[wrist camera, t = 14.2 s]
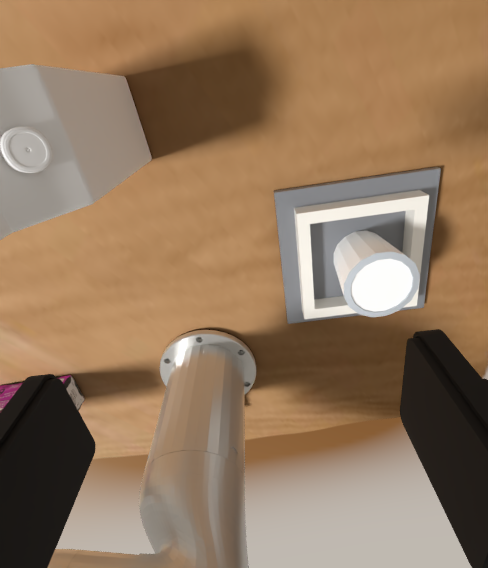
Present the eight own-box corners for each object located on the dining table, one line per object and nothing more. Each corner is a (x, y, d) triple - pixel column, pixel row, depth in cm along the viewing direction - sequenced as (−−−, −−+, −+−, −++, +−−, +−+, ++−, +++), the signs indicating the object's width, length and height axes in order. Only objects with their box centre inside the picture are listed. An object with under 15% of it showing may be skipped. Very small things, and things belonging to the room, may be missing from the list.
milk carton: (84, 175, 34) (-65, 254, 18) (50, 95, 31) (-174, 99, 14) (153, 159, 34) (64, 226, 17) (125, 75, 30) (-18, 56, 14)
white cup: (321, 236, 37) (336, 265, 30) (387, 216, 35) (417, 242, 29) (334, 289, 40) (350, 326, 34) (395, 272, 39) (423, 306, 33)
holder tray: (420, 303, 42) (431, 317, 39) (287, 320, 43) (289, 334, 40) (436, 166, 34) (451, 172, 31) (273, 190, 35) (276, 198, 33)
